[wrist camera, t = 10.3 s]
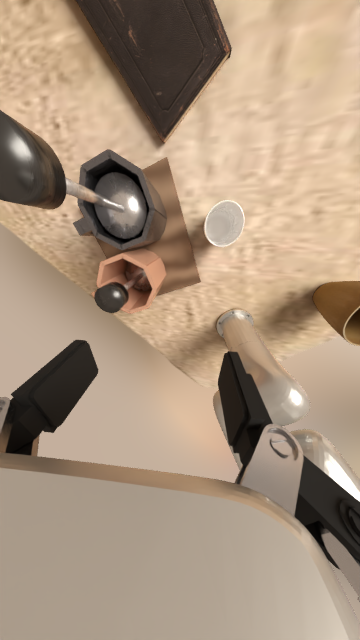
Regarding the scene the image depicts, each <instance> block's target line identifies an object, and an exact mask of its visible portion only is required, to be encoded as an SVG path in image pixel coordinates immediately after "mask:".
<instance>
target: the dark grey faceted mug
mask: <svg viewBox="0 0 360 640" xmlns="http://www.w3.org/2000/svg"><path fill="white" fill-rule="evenodd" d="M81 166H82V167H81V168H80V180H79V184H80V185H82V186H84V187H86V188H88V189H90V190H92V191H94V192H95V189H96V186H97V184H98V182H99V180H100V179H101V178H102V177H103V176H105V175H106V174H109V173H113V172H117V173H121V174H124V175H126V176H128V177H129V178H131V179H132V180H133V181H134V182H135V183H136V184H137V185H138V186H139V188H140V189H141V191H142V193H143V195H144V197H145V200H146V204H147V220H146V224H145V227H144V229H143V230H142V232H141V233H140V234H138V235H137V236H135V237H133V238H127V239H124V238H119V237H116V236H114V235H113V234H111V233H110V232H109V231H107V230H106V229H105V227H104V226H103V225H102V223H101V222H100V220H99V218H98V216H97V213H96V210H95V205H94V203H91V202H89V201H86V200H83V199H80V198H78V206H79V208H80V210H81V212H82V213H83V215H84V218H82V219H80V220H78V221H76V222H74V223H73V224H74V226H75V228H76V229H77V231H78V233H79V235H80V236H96V238H98V239H100V240H102V241H104V242H106V243H108V244H110V245H112V246H114V247H116V248H118V249H120V250H126V249H132V248H137V247H143V246H146V245H148V244H151V243H154V242H156V241H158V240H160V239H161V236H162V235H163V233H164V231H165V227H166V222H167V216H166V211H165V208H164V205H163V203H162V200H161V197H160V195H159V193H158V192H157V191H156V189H155V188H154V186H153V185H152V184H151V182H150V181H149V179H148V178H147V177H146V175H145V174H144V172H143V171H142V170H141V169H140V168H138V167H137V166H135V165H134V164H132V163H131V162H129V161H127V160H126V159H124V158H123V157H121V156H119V155H118V154H116V153H115V152H113V151H111V150H110V149H109V150H108V149H107V150H106V151H104V152H102V153H101V154H99V155H98V156H96V157H94V158H93V159H91V160H89V161H88V162H86V163H84V164H83V165H81Z"/></svg>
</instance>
